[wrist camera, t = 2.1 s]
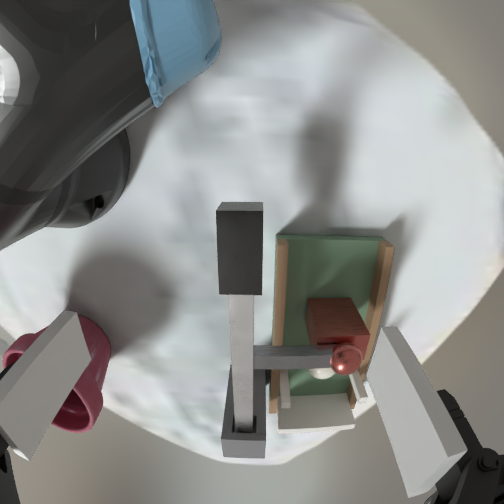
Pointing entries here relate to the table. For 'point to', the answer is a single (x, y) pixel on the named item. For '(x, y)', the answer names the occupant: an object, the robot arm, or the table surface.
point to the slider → (242, 314)
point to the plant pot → (88, 385)
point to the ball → (321, 373)
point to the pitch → (295, 333)
